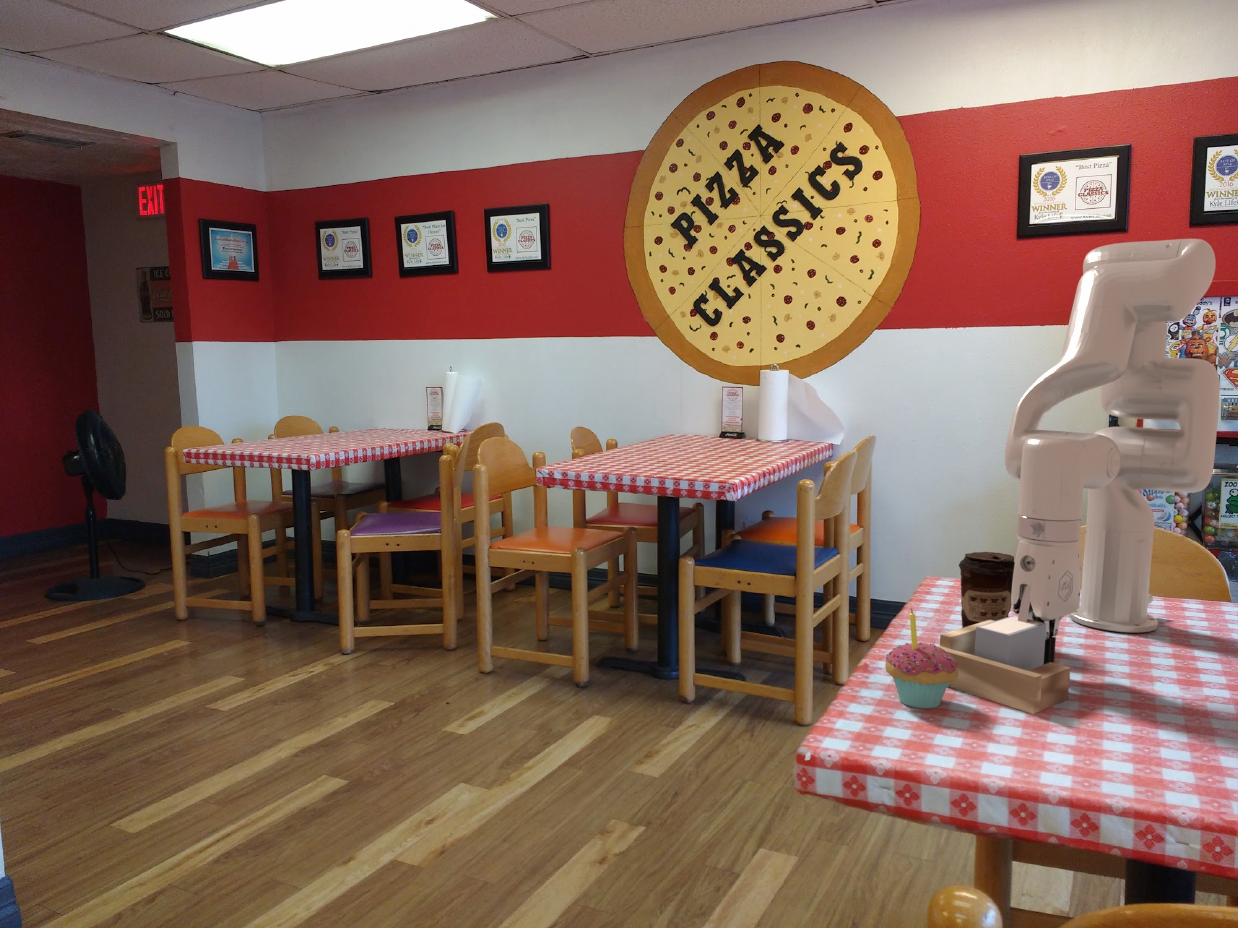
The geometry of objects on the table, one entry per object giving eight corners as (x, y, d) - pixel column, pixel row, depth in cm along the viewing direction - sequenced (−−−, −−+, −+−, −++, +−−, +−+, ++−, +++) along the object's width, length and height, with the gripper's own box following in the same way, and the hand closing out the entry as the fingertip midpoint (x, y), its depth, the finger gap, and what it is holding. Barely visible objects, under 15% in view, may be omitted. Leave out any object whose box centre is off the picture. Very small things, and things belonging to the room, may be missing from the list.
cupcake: (919, 719, 107) (924, 618, 106) (868, 695, 114) (872, 601, 113) (971, 707, 111) (977, 610, 110) (918, 685, 118) (923, 594, 117)
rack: (987, 661, 128) (989, 619, 127) (1087, 690, 117) (1090, 644, 117) (930, 681, 120) (933, 636, 119) (1033, 713, 109) (1036, 664, 108)
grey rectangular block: (1009, 673, 123) (1013, 615, 122) (1042, 683, 120) (1046, 623, 119) (972, 687, 118) (976, 626, 117) (1005, 697, 114) (1009, 634, 113)
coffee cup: (1020, 651, 133) (1026, 563, 132) (959, 646, 135) (965, 559, 133) (1007, 633, 142) (1013, 550, 140) (951, 629, 143) (955, 547, 142)
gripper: (1047, 541, 114) (1038, 684, 116) (1103, 528, 123) (1094, 661, 125) (991, 531, 120) (983, 667, 122) (1048, 520, 129) (1040, 647, 131)
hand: (1039, 664), depth 123 cm, fingers closed
